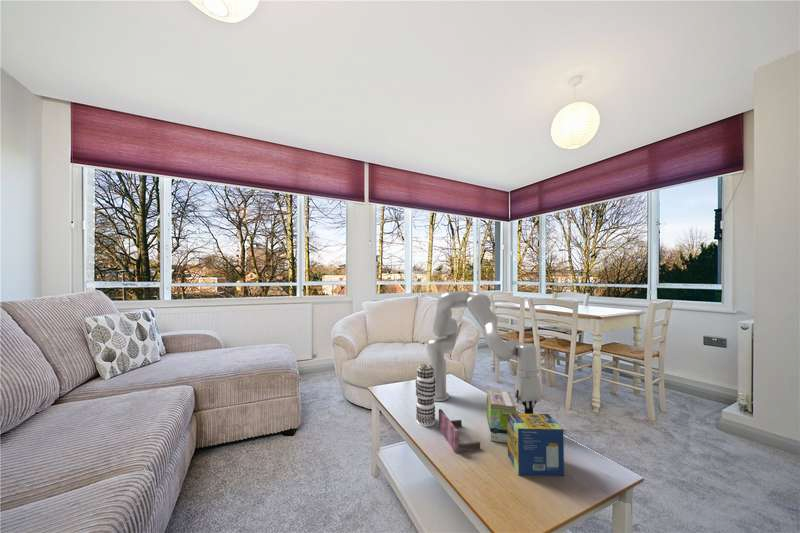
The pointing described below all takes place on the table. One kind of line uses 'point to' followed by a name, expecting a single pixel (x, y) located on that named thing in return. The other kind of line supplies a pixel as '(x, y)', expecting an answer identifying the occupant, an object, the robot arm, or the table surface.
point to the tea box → (499, 414)
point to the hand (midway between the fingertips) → (529, 416)
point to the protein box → (535, 445)
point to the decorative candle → (425, 395)
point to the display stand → (454, 434)
